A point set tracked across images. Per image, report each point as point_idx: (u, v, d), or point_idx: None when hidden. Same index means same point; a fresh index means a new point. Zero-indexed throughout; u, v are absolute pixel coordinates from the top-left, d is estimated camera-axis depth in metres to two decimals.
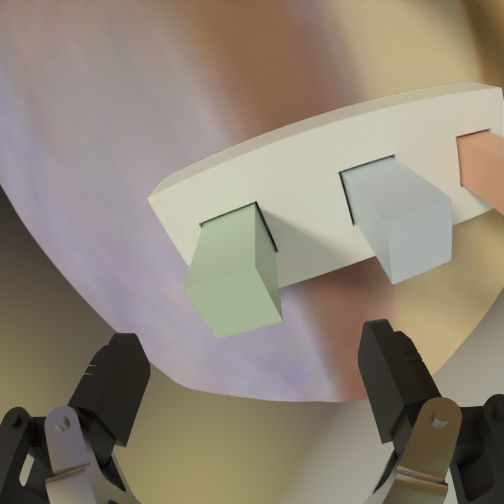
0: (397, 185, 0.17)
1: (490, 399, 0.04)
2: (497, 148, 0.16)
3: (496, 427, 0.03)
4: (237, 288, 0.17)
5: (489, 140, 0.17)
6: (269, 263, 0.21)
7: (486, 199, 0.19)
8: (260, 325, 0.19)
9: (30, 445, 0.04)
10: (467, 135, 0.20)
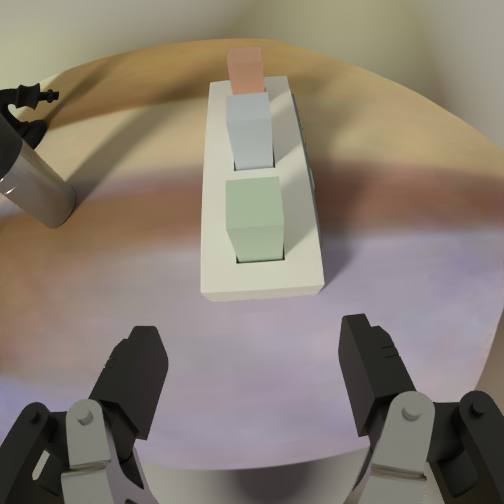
0: None
1: (465, 396, 0.05)
2: None
3: (474, 425, 0.04)
4: (237, 194, 0.25)
5: None
6: None
7: (262, 85, 0.37)
8: (278, 190, 0.25)
9: (49, 441, 0.05)
10: None
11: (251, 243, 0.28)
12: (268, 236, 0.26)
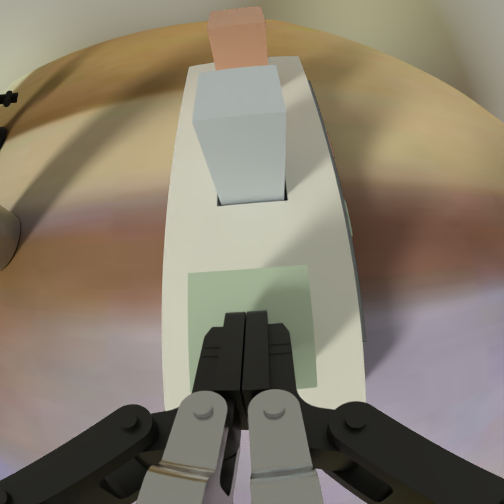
0: None
1: (335, 412, 0.06)
2: None
3: (357, 441, 0.05)
4: (213, 310, 0.11)
5: None
6: None
7: (264, 64, 0.22)
8: (306, 302, 0.11)
9: (154, 448, 0.05)
10: None
11: None
12: None
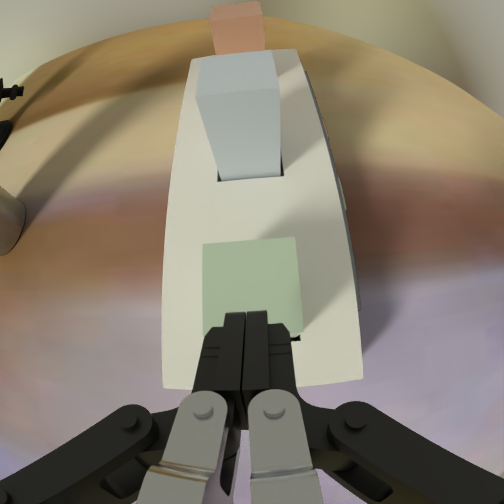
0: None
1: (335, 412, 0.06)
2: None
3: (357, 441, 0.05)
4: (222, 272, 0.15)
5: None
6: None
7: None
8: (294, 265, 0.15)
9: (154, 448, 0.05)
10: None
11: None
12: None
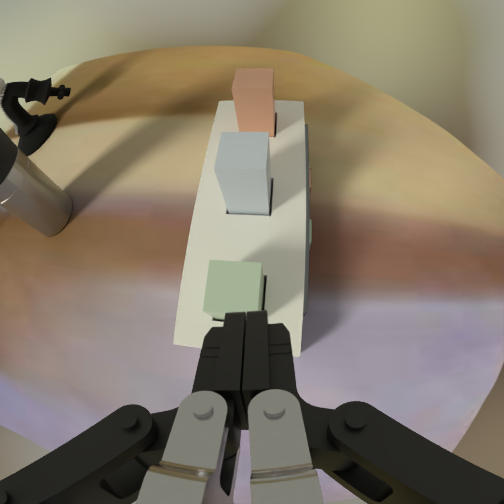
0: None
1: (335, 412, 0.06)
2: None
3: (357, 441, 0.05)
4: (218, 277, 0.26)
5: None
6: None
7: (271, 115, 0.35)
8: (258, 278, 0.26)
9: (154, 448, 0.05)
10: None
11: None
12: None
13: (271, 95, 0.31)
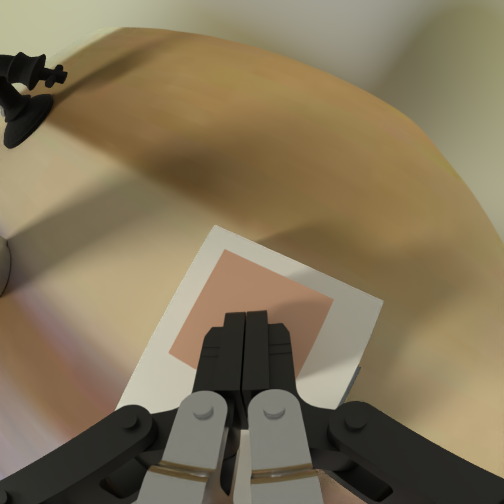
0: None
1: (335, 412, 0.06)
2: None
3: (357, 441, 0.05)
4: None
5: None
6: None
7: None
8: None
9: (154, 448, 0.05)
10: None
11: None
12: None
13: None
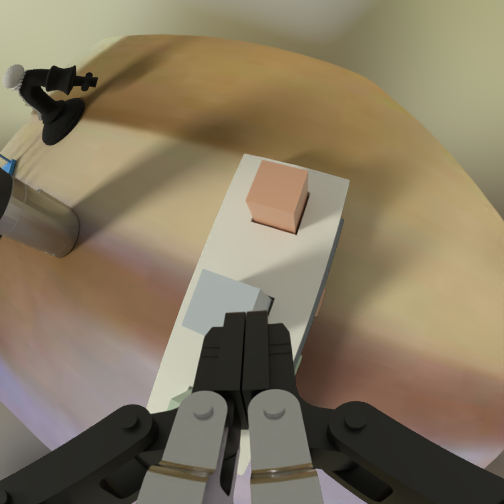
0: None
1: (335, 412, 0.06)
2: None
3: (357, 441, 0.05)
4: None
5: None
6: None
7: (292, 229, 0.31)
8: None
9: (153, 448, 0.05)
10: None
11: None
12: None
13: (293, 218, 0.28)
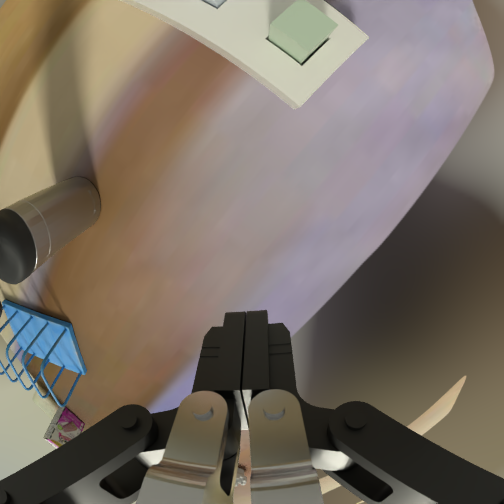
0: None
1: (335, 412, 0.06)
2: None
3: (357, 441, 0.05)
4: (290, 26, 0.21)
5: None
6: None
7: None
8: (311, 6, 0.20)
9: (154, 448, 0.05)
10: None
11: (313, 50, 0.25)
12: (325, 37, 0.23)
13: None
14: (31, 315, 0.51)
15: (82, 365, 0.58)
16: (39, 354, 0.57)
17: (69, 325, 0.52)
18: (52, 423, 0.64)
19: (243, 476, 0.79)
